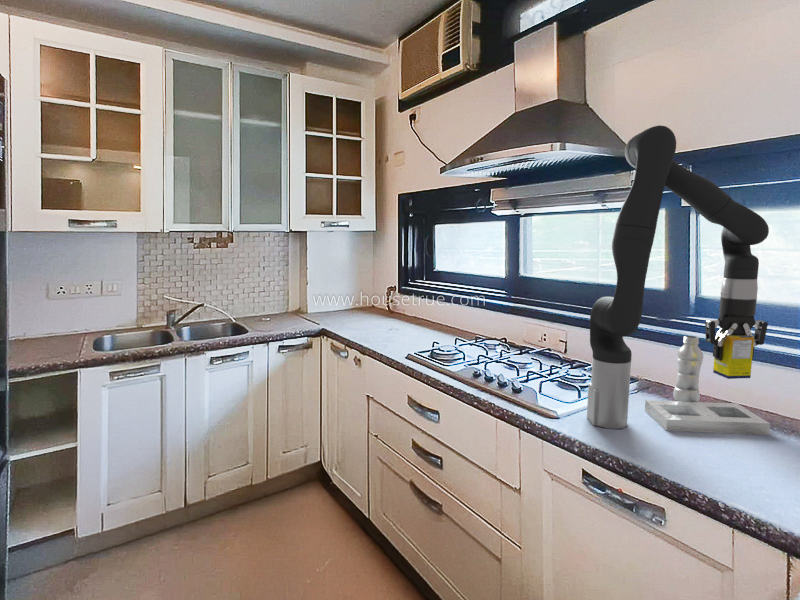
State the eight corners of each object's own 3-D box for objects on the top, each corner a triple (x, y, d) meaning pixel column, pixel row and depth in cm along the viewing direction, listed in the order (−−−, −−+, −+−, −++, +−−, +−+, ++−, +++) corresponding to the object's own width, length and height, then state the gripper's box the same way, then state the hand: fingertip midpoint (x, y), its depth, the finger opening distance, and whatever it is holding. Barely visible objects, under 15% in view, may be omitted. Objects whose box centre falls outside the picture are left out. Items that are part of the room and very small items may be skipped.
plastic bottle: (668, 399, 143) (673, 334, 140) (692, 400, 142) (698, 334, 139) (678, 407, 136) (683, 339, 134) (703, 408, 135) (709, 339, 133)
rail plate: (666, 430, 120) (667, 419, 120) (644, 410, 134) (645, 400, 133) (768, 435, 117) (770, 423, 117) (736, 413, 131) (737, 403, 131)
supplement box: (733, 372, 126) (737, 331, 125) (751, 378, 120) (755, 336, 119) (711, 372, 126) (715, 332, 124) (728, 379, 120) (732, 337, 118)
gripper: (716, 297, 117) (710, 363, 120) (779, 298, 116) (772, 364, 118) (700, 294, 125) (695, 355, 127) (759, 294, 123) (753, 357, 125)
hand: (732, 359), depth 123 cm, fingers closed on supplement box, 6 cm apart
